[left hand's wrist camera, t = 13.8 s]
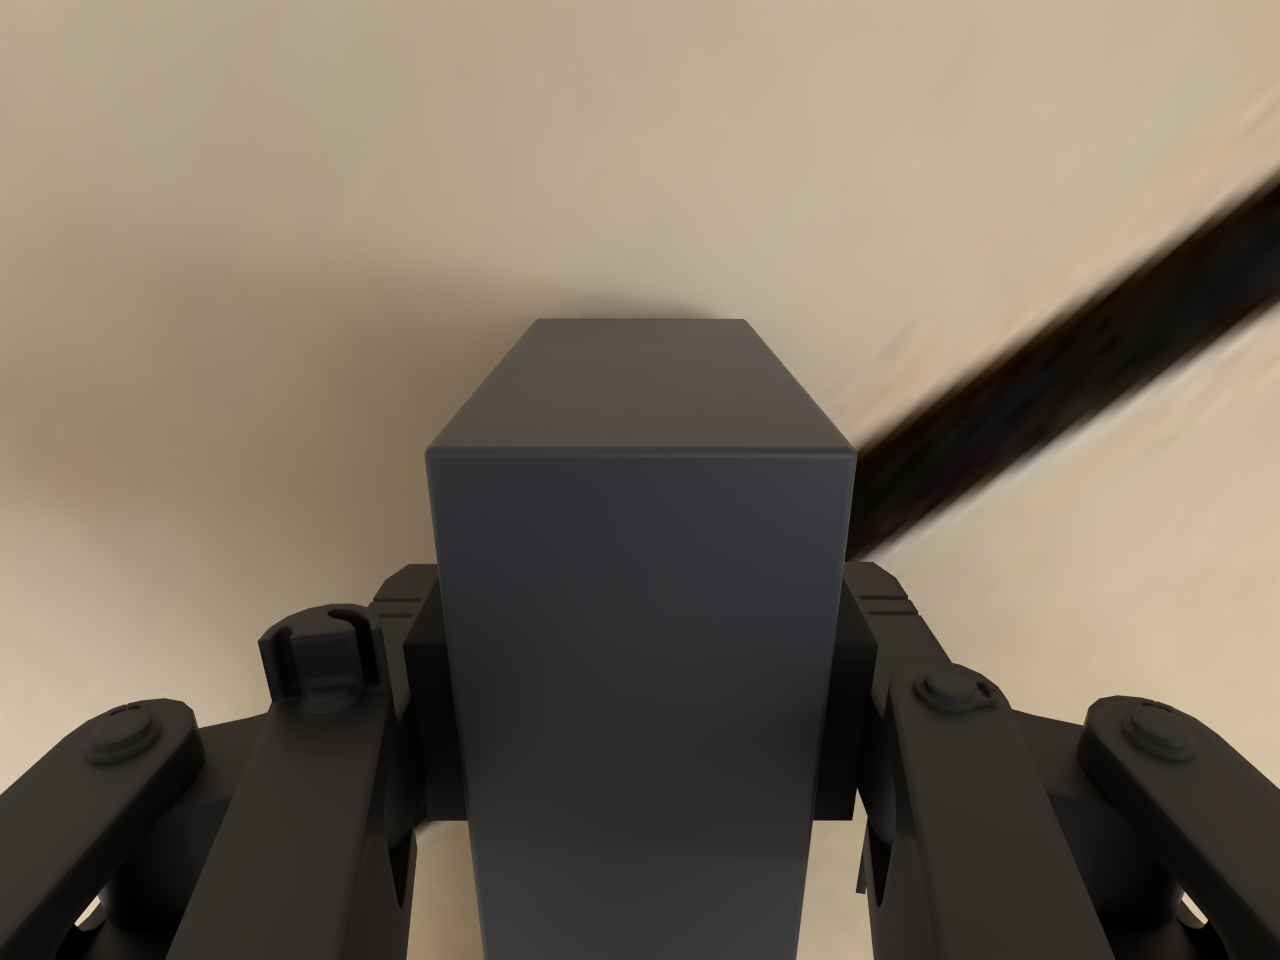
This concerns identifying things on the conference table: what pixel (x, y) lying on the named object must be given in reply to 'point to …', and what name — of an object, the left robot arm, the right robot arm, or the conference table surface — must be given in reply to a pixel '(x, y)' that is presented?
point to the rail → (640, 637)
